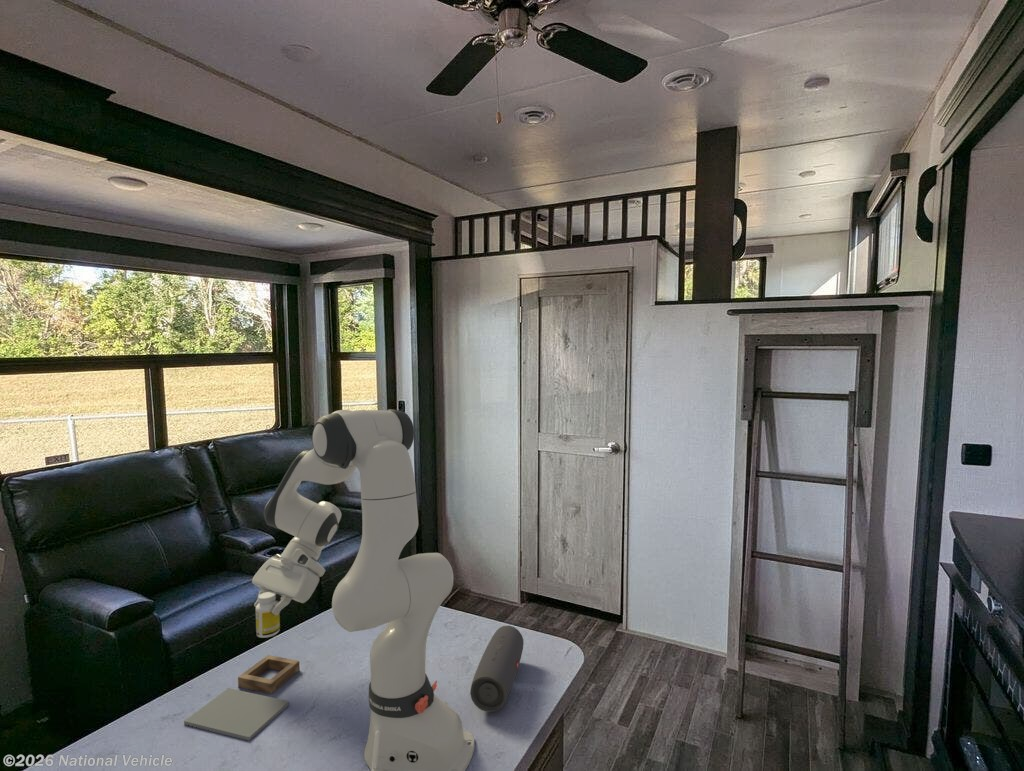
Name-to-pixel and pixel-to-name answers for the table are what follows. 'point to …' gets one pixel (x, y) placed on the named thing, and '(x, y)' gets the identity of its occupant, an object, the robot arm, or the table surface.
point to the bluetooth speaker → (497, 669)
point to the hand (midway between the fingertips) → (265, 610)
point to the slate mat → (237, 713)
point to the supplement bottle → (266, 616)
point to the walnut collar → (264, 684)
